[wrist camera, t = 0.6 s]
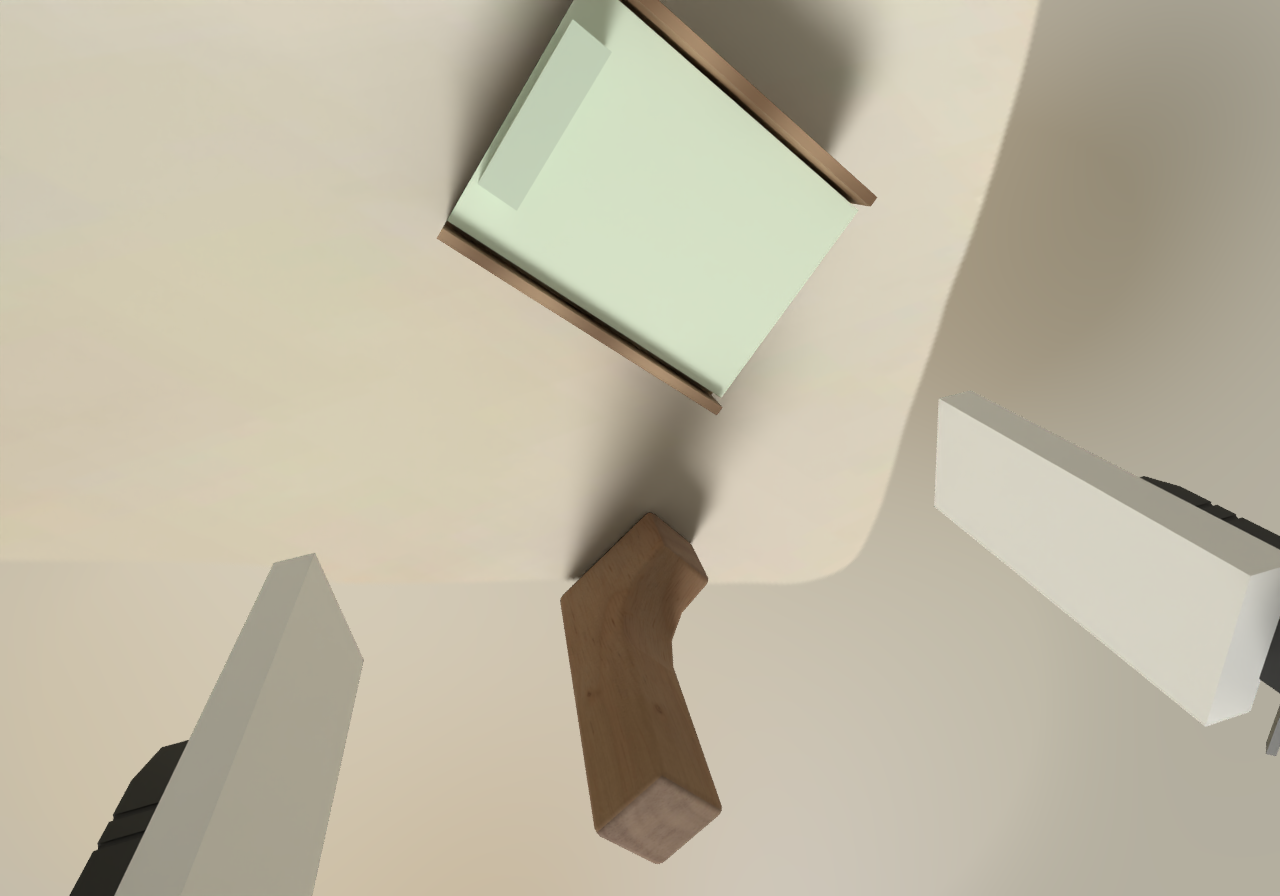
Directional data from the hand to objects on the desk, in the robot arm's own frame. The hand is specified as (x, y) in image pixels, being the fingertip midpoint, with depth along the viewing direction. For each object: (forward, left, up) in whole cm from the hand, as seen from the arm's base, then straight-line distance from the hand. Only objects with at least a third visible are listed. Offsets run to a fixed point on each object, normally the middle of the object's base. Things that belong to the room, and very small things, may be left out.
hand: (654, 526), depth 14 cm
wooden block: (+15, -14, -27) cm, 34 cm away
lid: (+2, +6, -22) cm, 23 cm away
